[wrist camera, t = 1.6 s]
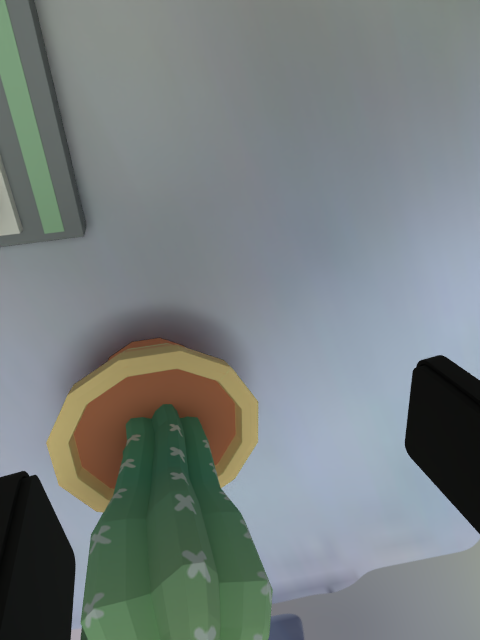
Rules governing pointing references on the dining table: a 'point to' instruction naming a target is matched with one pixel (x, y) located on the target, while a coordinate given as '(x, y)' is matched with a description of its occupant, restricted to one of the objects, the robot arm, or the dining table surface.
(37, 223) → the breaker panel
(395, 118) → the dining table surface
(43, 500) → the robot arm
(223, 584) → the potted cactus
